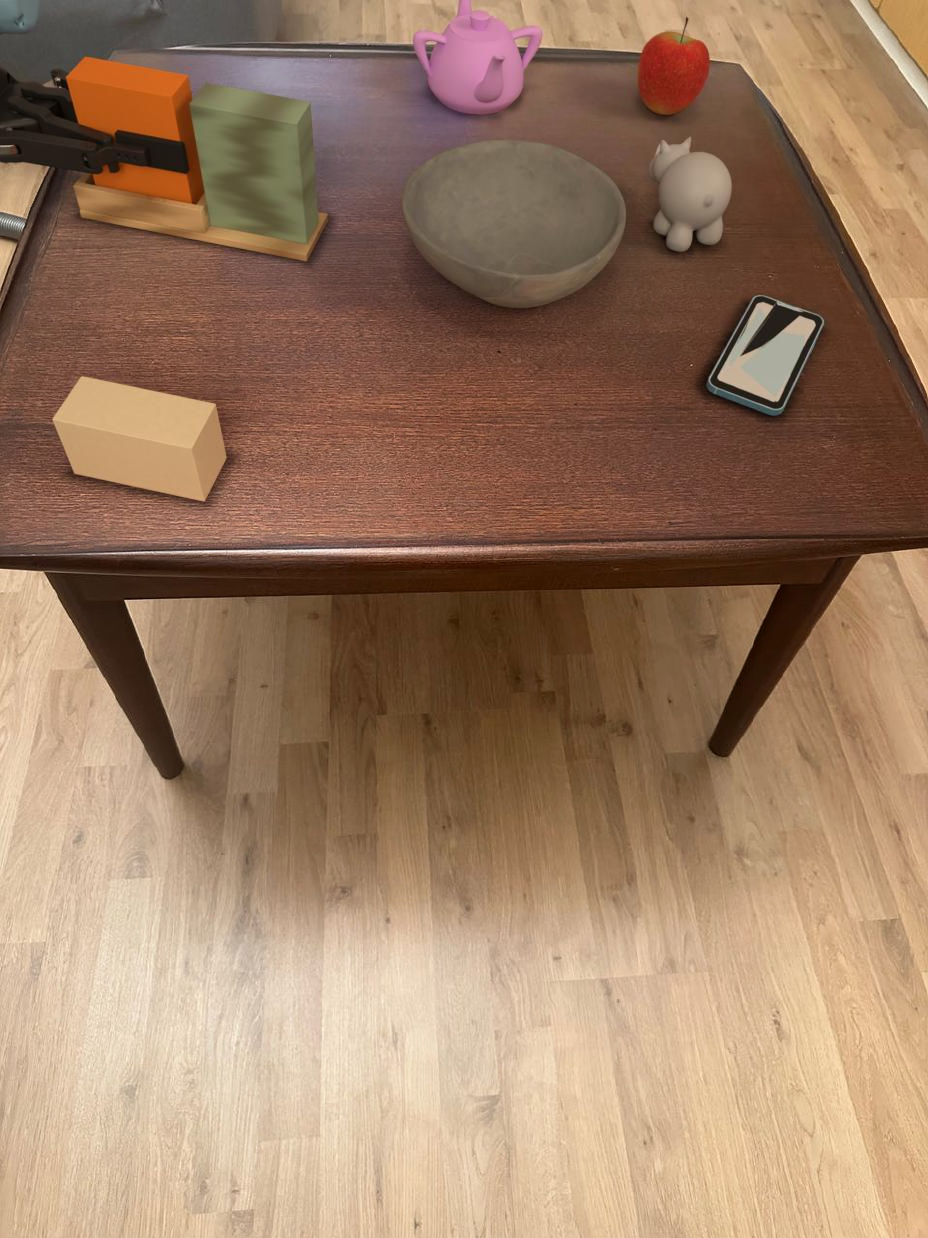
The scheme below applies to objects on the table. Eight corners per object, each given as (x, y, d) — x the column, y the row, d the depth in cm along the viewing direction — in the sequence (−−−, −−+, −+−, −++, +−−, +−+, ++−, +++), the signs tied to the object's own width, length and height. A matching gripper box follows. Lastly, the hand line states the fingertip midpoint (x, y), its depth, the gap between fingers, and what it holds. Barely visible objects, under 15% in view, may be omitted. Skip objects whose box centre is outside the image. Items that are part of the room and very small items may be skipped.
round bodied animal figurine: (679, 186, 104) (700, 109, 97) (728, 251, 98) (754, 173, 91) (620, 194, 103) (637, 116, 96) (665, 260, 97) (687, 182, 90)
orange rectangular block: (99, 200, 94) (65, 76, 84) (116, 178, 96) (85, 55, 87) (195, 219, 94) (171, 96, 84) (209, 196, 96) (188, 74, 86)
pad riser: (74, 473, 76) (51, 419, 71) (100, 431, 78) (81, 375, 73) (204, 502, 75) (191, 448, 70) (227, 457, 78) (215, 403, 73)
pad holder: (81, 217, 94) (41, 86, 84) (111, 178, 98) (77, 49, 88) (306, 261, 93) (296, 133, 82) (328, 220, 97) (320, 93, 86)
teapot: (458, 56, 118) (462, -23, 110) (551, 96, 114) (562, 16, 106) (400, 92, 112) (400, 11, 105) (495, 135, 108) (503, 54, 101)
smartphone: (704, 383, 85) (755, 291, 93) (701, 391, 86) (752, 299, 94) (782, 413, 84) (827, 317, 91) (778, 421, 84) (824, 325, 92)
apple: (618, 112, 113) (635, 21, 104) (648, 85, 117) (668, -4, 108) (678, 135, 110) (701, 45, 102) (707, 107, 114) (731, 18, 106)
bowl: (654, 304, 92) (675, 231, 86) (475, 371, 85) (482, 297, 79) (534, 192, 102) (544, 118, 95) (364, 244, 95) (362, 168, 88)
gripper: (19, 97, 99) (232, 137, 97) (-68, 186, 89) (167, 232, 88) (-6, 19, 92) (221, 60, 91) (-102, 106, 83) (150, 154, 81)
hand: (194, 144), depth 89 cm, fingers closed on orange rectangular block, 4 cm apart
